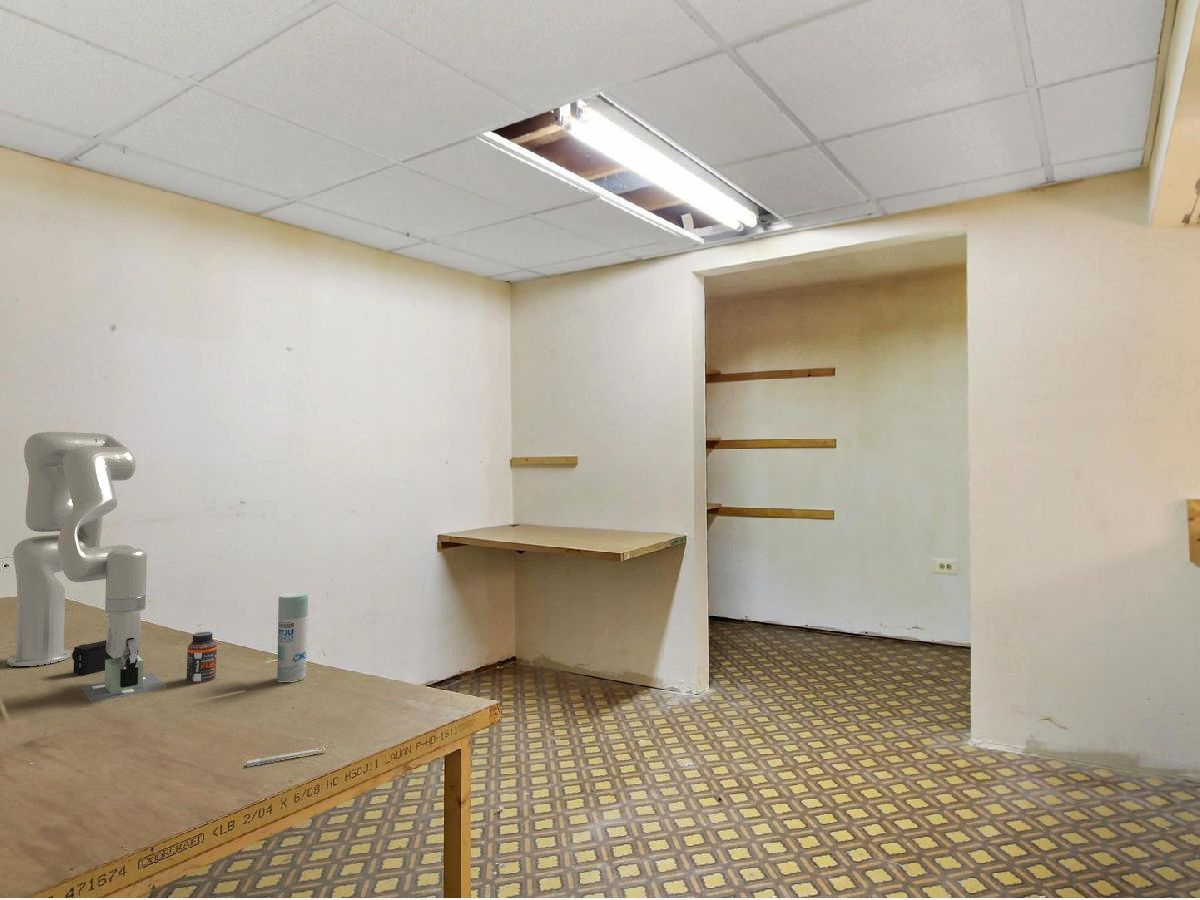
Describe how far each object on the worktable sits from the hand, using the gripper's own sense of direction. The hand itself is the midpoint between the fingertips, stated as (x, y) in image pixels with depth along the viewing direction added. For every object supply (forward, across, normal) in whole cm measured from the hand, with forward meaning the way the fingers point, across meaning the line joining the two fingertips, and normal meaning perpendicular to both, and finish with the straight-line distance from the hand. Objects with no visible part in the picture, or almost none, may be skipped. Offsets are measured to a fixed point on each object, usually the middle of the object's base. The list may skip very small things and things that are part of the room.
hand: (123, 681), depth 153 cm
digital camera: (+2, -20, -1) cm, 20 cm away
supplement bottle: (+2, +6, +14) cm, 15 cm away
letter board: (+2, 0, 0) cm, 2 cm away
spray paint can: (+2, +18, +30) cm, 35 cm away
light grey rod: (+3, +61, +12) cm, 62 cm away
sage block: (+1, 0, 0) cm, 1 cm away
